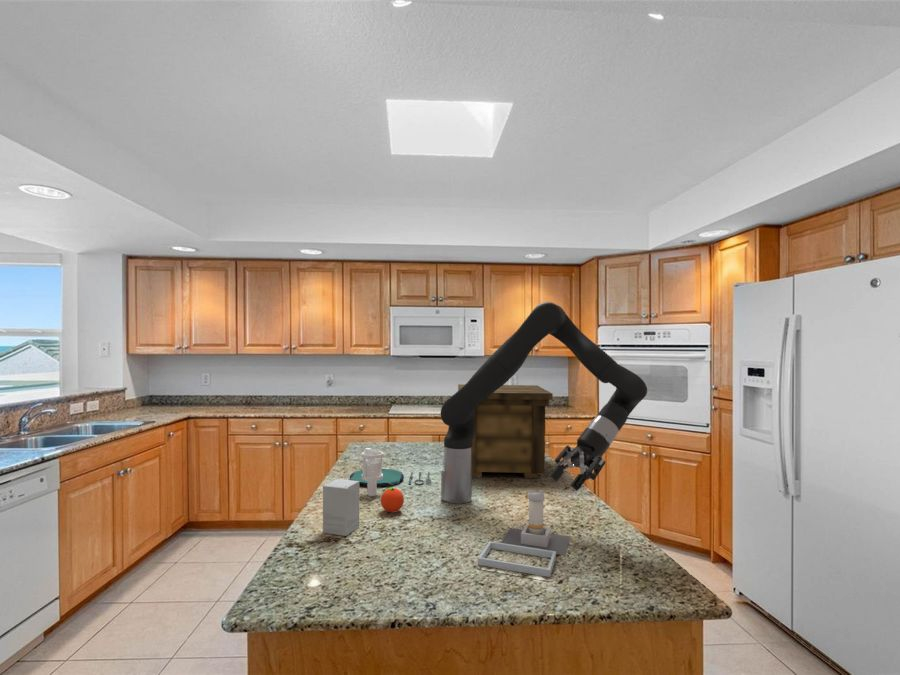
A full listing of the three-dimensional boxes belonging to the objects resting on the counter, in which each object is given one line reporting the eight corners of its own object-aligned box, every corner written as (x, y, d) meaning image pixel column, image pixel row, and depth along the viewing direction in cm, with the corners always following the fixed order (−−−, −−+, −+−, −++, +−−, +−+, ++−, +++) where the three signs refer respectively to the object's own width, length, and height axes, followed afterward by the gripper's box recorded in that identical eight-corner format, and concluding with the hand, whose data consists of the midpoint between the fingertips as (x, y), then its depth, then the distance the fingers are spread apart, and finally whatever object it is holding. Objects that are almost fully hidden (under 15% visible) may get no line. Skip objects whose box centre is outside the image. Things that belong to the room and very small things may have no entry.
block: (499, 549, 119) (499, 534, 119) (509, 532, 131) (509, 518, 131) (565, 560, 114) (565, 544, 114) (570, 541, 125) (570, 526, 125)
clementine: (373, 510, 146) (373, 487, 146) (391, 505, 151) (391, 482, 151) (390, 517, 141) (391, 493, 141) (408, 511, 146) (408, 488, 146)
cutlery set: (354, 473, 188) (354, 467, 188) (431, 474, 189) (431, 468, 189) (344, 489, 169) (344, 482, 169) (430, 490, 170) (431, 484, 170)
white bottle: (526, 542, 121) (526, 494, 121) (529, 536, 125) (529, 489, 125) (542, 544, 120) (543, 495, 120) (545, 538, 124) (545, 491, 124)
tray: (477, 569, 109) (477, 558, 109) (489, 551, 118) (489, 541, 118) (549, 582, 103) (550, 570, 103) (555, 562, 113) (556, 551, 113)
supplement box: (360, 526, 133) (360, 480, 133) (345, 537, 126) (346, 488, 126) (336, 523, 136) (337, 478, 136) (321, 533, 129) (322, 485, 129)
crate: (457, 458, 215) (458, 384, 215) (536, 459, 215) (537, 385, 215) (457, 480, 180) (458, 392, 180) (551, 481, 180) (552, 393, 180)
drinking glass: (374, 490, 166) (375, 446, 167) (386, 494, 161) (387, 449, 162) (357, 494, 162) (357, 449, 162) (369, 499, 157) (370, 452, 157)
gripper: (573, 423, 136) (538, 467, 131) (609, 431, 123) (572, 481, 118) (587, 440, 138) (554, 485, 134) (624, 451, 126) (589, 500, 121)
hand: (563, 483), depth 126 cm, fingers open, 8 cm apart
